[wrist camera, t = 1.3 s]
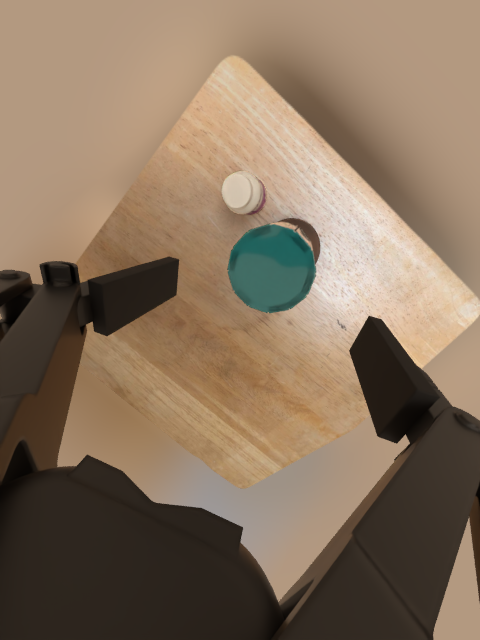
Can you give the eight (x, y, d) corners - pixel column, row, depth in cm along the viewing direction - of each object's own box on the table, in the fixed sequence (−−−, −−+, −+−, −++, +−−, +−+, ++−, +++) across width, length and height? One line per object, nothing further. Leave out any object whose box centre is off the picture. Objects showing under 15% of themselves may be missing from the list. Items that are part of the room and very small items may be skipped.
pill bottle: (232, 207, 38) (210, 204, 29) (243, 172, 35) (223, 158, 27) (260, 219, 37) (246, 220, 29) (273, 185, 35) (262, 176, 26)
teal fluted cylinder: (260, 215, 27) (238, 214, 19) (322, 232, 26) (330, 239, 17) (245, 275, 31) (221, 297, 22) (299, 292, 30) (296, 322, 21)
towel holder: (269, 211, 36) (236, 207, 19) (329, 226, 35) (352, 236, 18) (255, 269, 41) (218, 308, 24) (307, 284, 40) (308, 337, 22)
